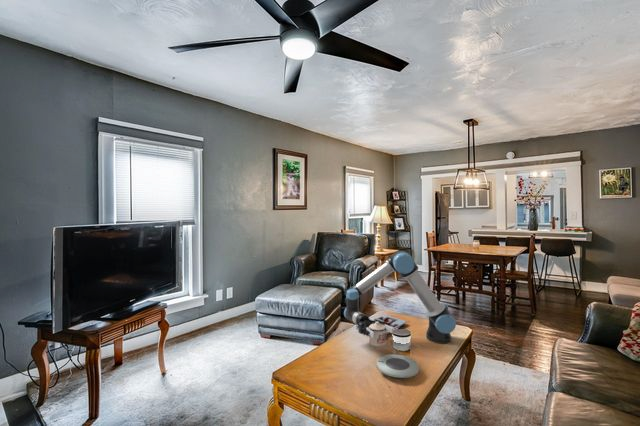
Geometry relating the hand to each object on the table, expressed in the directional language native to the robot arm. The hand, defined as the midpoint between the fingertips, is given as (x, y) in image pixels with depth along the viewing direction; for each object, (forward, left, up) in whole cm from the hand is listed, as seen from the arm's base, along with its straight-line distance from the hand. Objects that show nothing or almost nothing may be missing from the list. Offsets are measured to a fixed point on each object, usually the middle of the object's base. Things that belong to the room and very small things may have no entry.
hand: (383, 333), depth 165 cm
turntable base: (-8, +4, -18) cm, 20 cm away
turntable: (-8, +4, -15) cm, 17 cm away
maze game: (+7, -51, -18) cm, 55 cm away
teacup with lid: (+3, -3, -7) cm, 8 cm away
